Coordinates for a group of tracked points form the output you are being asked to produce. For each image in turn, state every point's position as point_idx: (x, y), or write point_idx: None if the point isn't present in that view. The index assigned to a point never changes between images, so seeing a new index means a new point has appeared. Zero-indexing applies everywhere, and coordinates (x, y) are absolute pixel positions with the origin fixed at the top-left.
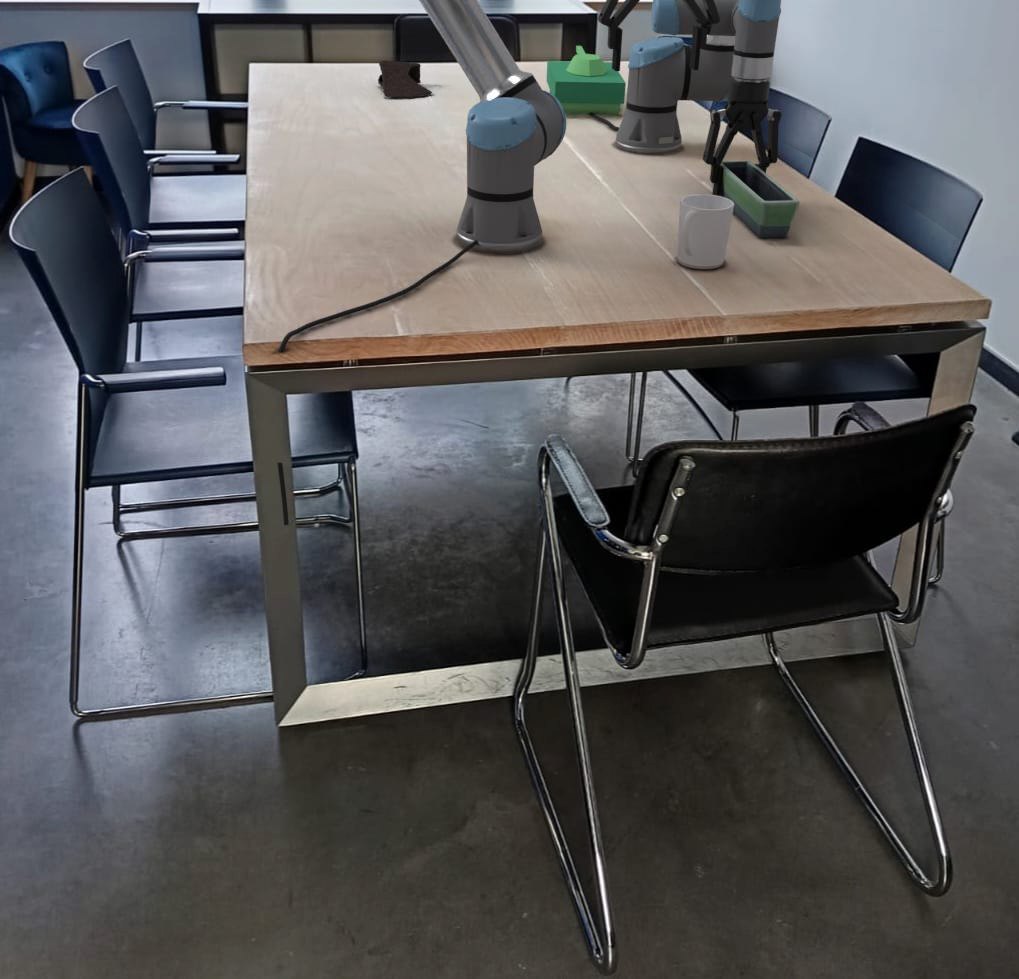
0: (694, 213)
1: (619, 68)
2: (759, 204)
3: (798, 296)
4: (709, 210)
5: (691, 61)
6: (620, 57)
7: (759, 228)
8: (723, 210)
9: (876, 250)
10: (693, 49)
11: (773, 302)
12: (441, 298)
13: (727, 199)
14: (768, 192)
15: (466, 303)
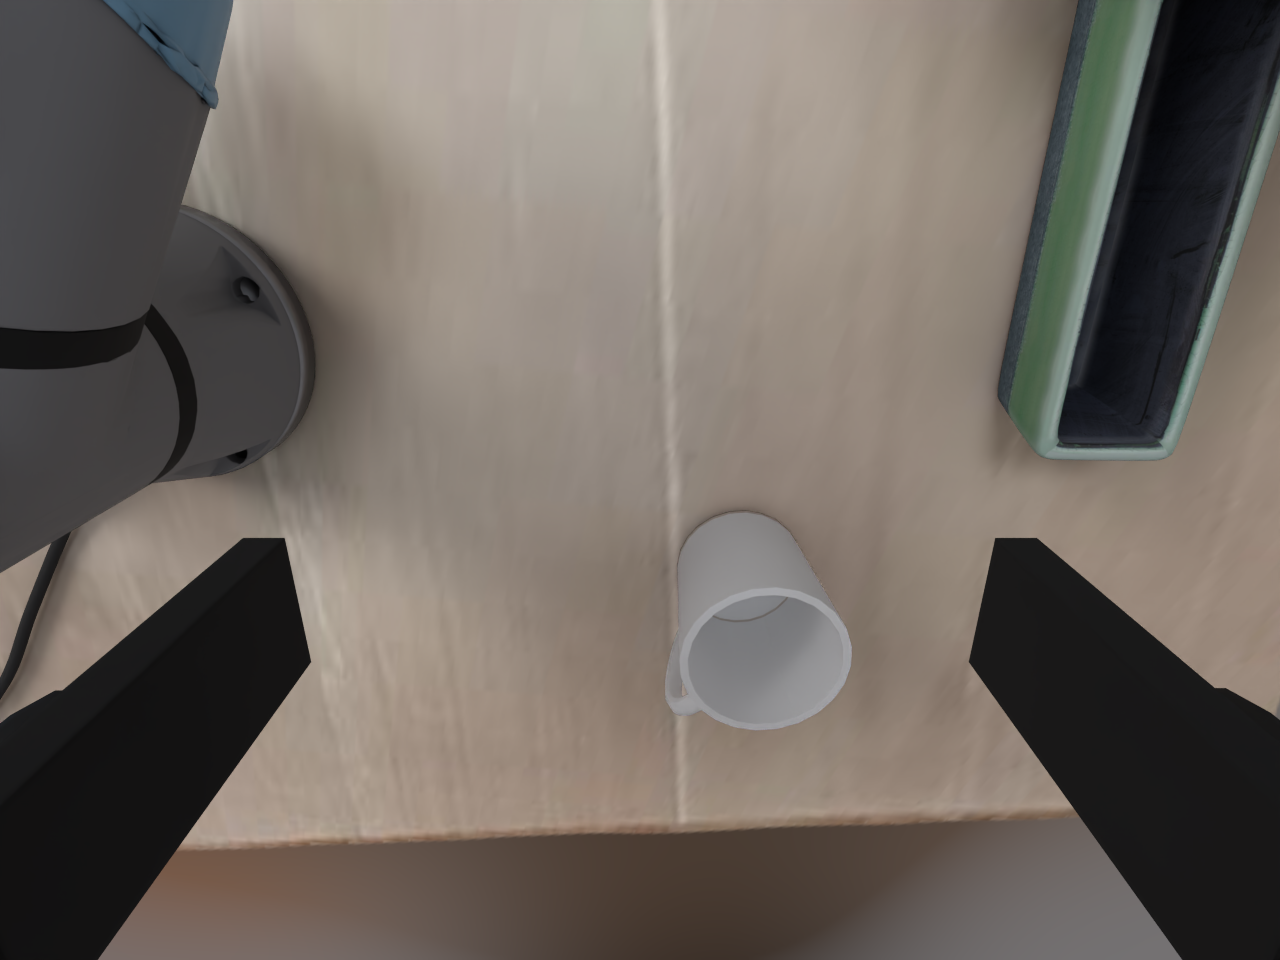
0: (699, 710)
1: (296, 674)
2: (1034, 430)
3: (875, 759)
4: (742, 727)
5: (1013, 613)
6: (250, 740)
7: (1005, 403)
8: (787, 723)
9: (1262, 519)
10: (1076, 713)
11: (806, 780)
12: None
13: (843, 643)
14: (1200, 188)
15: None
